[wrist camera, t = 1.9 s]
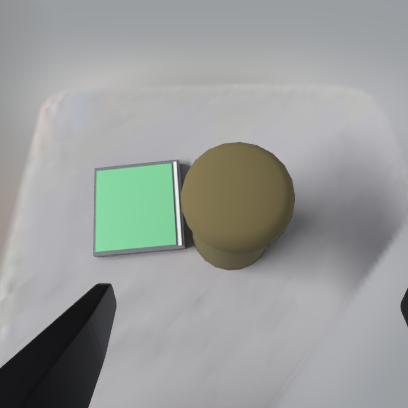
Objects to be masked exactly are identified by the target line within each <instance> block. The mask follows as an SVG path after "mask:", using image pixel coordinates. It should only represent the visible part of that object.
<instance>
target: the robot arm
mask: <svg viewBox="0 0 408 408" xmlns="http://www.w3.org/2000/svg"><path fill="white" fill-rule="evenodd" d="M401 311H402V314H403V316H404V319H405V321H406V323H407V326H408V289H407V291H406V293H405V295H404V297H403V299H402V301H401ZM115 312H116V299H115V295H114V291H113V287H112V285H111V284H109V283H99V284H96V285H95V286H94V287H93V288H91V289H90V290H89V291H88V292H87V293H86V294H85V295H83V296H82V297H81V298H80V299H79V300H78V301H77V302H75V303H74V304H73V305H72V306H71V307H70V308H69V309H67V310H66V311H65V312H64V313H63V314H62V315H61V316H59V317H58V318H57V319H56V320H55V321H54V322H53V323H51V324H50V325H49V326H48V327H47V328H46V329H45V330H43V331H42V332H41V333H40V334H39V335H38V336H37V337H35V338H34V339H33V340H32V341H31V342H30V343H29V344H27V345H26V346H25V347H24V348H23V349H22V350H21V351H19V352H18V353H17V354H16V355H15V356H14V357H13V358H11V359H10V360H9V361H8V362H7V363H6V364H5V365H3V366H2V367H1V368H0V408H88V407H89V404H90V401H91V398H92V395H93V392H94V389H95V386H96V383H97V380H98V377H99V375H100V372H101V369H102V366H103V362H104V359H105V355H106V351H107V347H108V343H109V338H110V334H111V329H112V325H113V320H114V316H115Z"/></svg>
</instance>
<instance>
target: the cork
mask: <svg viewBox="0 0 408 408" xmlns="http://www.w3.org/2000/svg"><path fill="white" fill-rule="evenodd" d="M294 202H295V195H294V188H293V182H292V179H291V177H290V175H289V173H288V171H287V169H286V167H285V165H284V164H283V163H282V162H281V161H280V160H279V159H278V158H277V157H276V156H275V155H274V154H272V153H271V152H269V151H267V150H265V149H263V148H261V147H259V146H257V145H253V144H248V143H242V142H237V143H226V144H222V145H219V146H217V147H214V148H212V149H209V150H208V151H206V152H205V153H204V154H203V155H201V156H200V157H199V158H198V159H196V160H195V162H194V163H193V165H192V166H191V168H190V169H189V171H188V172H187V174H186V177H185V180H184V184H183V187H182V191H181V205H182V212H183V214H184V217H185V219H186V222H187V224H188V227H189V228H190V229H191V230H192V232H193V241H194V244H195V246H196V249H197V251H198V252H199V253H200V255H201V256H202V257H203V258H204V260H205V261H207V262H209V263H210V264H212V265H213V266H215V267H218V268H222V269H226V270H235V269H242V268H244V267H246V266H249V265H251V264H253V263H254V262H255V261H256V260H257V259H258V258H259V257H261V255H262V253H263V252H264V250H265V248H266V247H267V246H269V245H270V244H271V243H273V242H274V241H275V240H276V239H277V238H278V237H279V236H281V235H282V234H283V232H284V231H285V229H286V227H287V225H288V224H289V222H290V220H291V218H292V214H293V208H294Z"/></svg>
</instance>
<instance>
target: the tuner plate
mask: <svg viewBox="0 0 408 408" xmlns="http://www.w3.org/2000/svg"><path fill="white" fill-rule="evenodd" d="M181 191H182V185H181V171H180V162H179V160H170V161H161V162H151V163H142V164H132V165H123V166H113V167H104V168H95V185H94V245H93V256H94V257H104V256H115V255H125V254H136V253H147V252H157V251H168V250H179V249H186V243H185V229H184V214H183V212H182V205H181Z"/></svg>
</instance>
